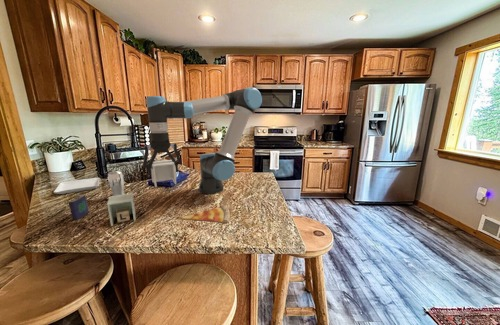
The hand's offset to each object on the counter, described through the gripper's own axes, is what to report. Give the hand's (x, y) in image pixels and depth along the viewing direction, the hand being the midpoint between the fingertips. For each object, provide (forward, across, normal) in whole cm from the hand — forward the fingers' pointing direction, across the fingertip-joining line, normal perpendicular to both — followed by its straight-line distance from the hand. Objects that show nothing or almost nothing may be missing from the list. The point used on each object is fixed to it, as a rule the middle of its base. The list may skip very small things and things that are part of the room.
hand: (164, 179), depth 96 cm
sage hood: (+15, -18, 0) cm, 24 cm away
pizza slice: (+16, +17, -14) cm, 27 cm away
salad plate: (+16, -46, +63) cm, 80 cm away
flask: (+16, -36, +14) cm, 42 cm away
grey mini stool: (+1, 0, 0) cm, 1 cm away
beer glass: (+16, -22, +30) cm, 40 cm away
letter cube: (+16, -18, 0) cm, 24 cm away
